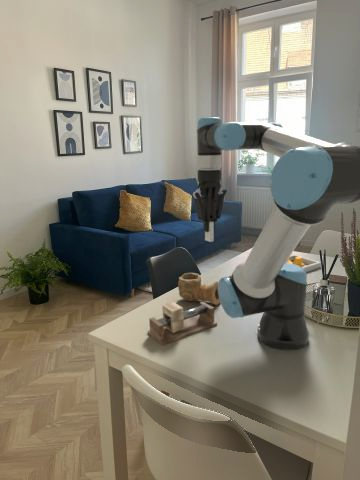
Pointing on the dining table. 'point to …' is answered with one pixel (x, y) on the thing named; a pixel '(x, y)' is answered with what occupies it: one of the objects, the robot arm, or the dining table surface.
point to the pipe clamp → (296, 261)
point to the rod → (185, 314)
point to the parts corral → (311, 263)
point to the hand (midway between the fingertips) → (209, 240)
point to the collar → (174, 316)
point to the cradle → (190, 326)
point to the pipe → (197, 289)
